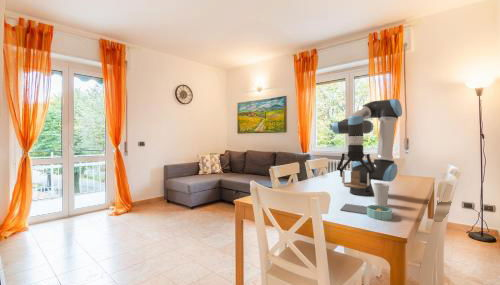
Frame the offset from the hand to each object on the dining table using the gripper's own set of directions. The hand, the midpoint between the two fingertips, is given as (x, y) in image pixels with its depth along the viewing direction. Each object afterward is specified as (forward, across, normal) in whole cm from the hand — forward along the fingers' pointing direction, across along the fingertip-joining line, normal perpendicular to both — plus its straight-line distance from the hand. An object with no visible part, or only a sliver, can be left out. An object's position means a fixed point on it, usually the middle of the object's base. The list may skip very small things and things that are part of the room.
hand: (355, 184), depth 132 cm
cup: (+14, +11, +16) cm, 24 cm away
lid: (+1, 0, 0) cm, 1 cm away
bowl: (+14, +12, -6) cm, 19 cm away
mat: (+14, 0, 0) cm, 14 cm away
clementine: (+12, +12, -6) cm, 18 cm away
